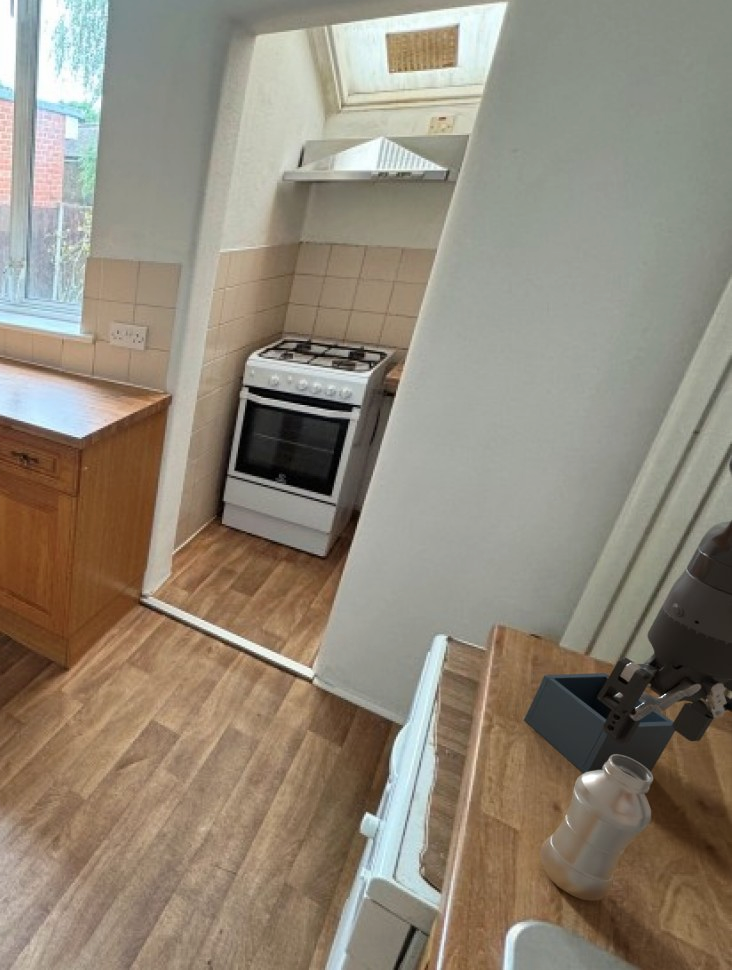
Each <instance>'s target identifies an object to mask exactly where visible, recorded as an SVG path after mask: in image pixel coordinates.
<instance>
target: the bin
mask: <svg viewBox="0 0 732 970" xmlns="http://www.w3.org/2000/svg"><path fill="white" fill-rule="evenodd" d="M609 676H610V674H609V675H608V673H606V672H595V673H593V672H591V673H568V674H567V673H564V674H563V673H562V674H561V673H560V674H544V675H543V678H542V680H541V682H540V684H539V686H538V688H537V690H536V692H535V695H534V697H533V699H532V702H531V703H530V706H529V708H528V710H527V713H526V715H525V717H524V718H523V721H524V722H525V723H526V724H528V726H529V727H531V728H532V729H533V730H534V732H536V733H537V734H539V735H540V736H541V737H542V738H543V739H544V740H545V741H546V742H547V743H548V744H550V745H551V746H552V747H553V748H554V749H555V750H557V752H559V754H561V755H562V756H563V757H564V758H565V759H566V760H568V761H569V762H570V763H571V764H572V765H573V766H574V767H576V769H578V770H579V771H580V772H581V773H582V774H584V773H585V772H589V771H595V770H603V769H602V768H603V765H604V764H605V762H607V761H608V759H609V757H610V756H611V755H614V754H619V755H623V756H626V757H629V758H631V759H633V760H635V761H637V762H639V763H640V764H642V765H643V766H645V767H646V768H647V769H648V770H649V771H650V772H651V773H652V771H653V769H654V768H655V766H656V764H657V763H658V761H659V759H660V757H661V756H662V754H663V752H664V751H665V749H666V748H667V745H668V744H669V742H670V741H671V739H672V737H673V736H674V734H675V732H676V731H675V730H674V729H673V727H672V724H673V722H674V720H672V719H670V718H669V717H668V716H666V715H665V714H663V713H661V711H659V710H654V711H652V712H651V713H649V714H648V715H646V716H645V717H643V718H642V719H640V720H642V721H641V722H640V724H639V726H638V728H637V730H636V731H635V733H634V735H633V737H632V738H631V740H630V742H629V743H625V744H620V743H618V742H617V741H615V740H614V739H613V738H612V737H610V736H609V735H608V734H607V733H606V732H605V731H604V729H603V725H604V723H605V722H606V719H607V718H608V716H609V714H610V712H611V710H612V709H611V708H609V707H608V706H607V705H606V704H604V703H603V702H602V701H600V700H599V699H598V698H597V697H598V695H599V693H600V691H601V690H602V688H603V686H604V684H605V683H606V681H607V679H608V678H609ZM618 693H619V692H618V691H616V693H615V695H617V694H618ZM615 695H614V696H615ZM644 701H645V700H643V699H642V698H641V697H640V699H639V700H638V702H637V703H636V705H635V707H638V706H639V705H641V704H642V703H644Z"/></svg>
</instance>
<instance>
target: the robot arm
mask: <svg viewBox="0 0 732 970" xmlns="http://www.w3.org/2000/svg"><path fill="white" fill-rule="evenodd" d="M728 471H729V474H730V476H731V477H732V455H731V456H730V458H729V461H728ZM647 639H648V641H649V644H650V645H651V647H652V649H653V653H652V655H651V656H650V657H649V658H648V659H647V660H645V662H643V663H635V662H634V661H632V660H631V659H630V658H628V657H622V658H620V659H619V660H617V662H616V664H615V666H614V667H613V669H612V671H611V673H610V674H609V678H608V679H607V681H606V683H605V684H604V686H603V688H602V690H601V691H600V693H599V695H598V697H597V698H598V699H599V700H600V701H602V702H603V703H604V704H606V705H607V706H608V707H609V708H611V709H612V710H611V712H610V714H609V716H608V718H607V719H606V722H605V723H604V725H603V729H604V731H605V732H606V733H607V734H608V735H609V736H610V737H612V738H613V739H614V740H615V741H617V742H618V743H620V744H625V743H629V742H630V740H631V738H632V737H633V735H634V733H635V731H636V730H637V728H638V726H639V724H640V722H641V721H642V720H640V719H642V718H643V717H645V716H646V715H648V714H649V713H651V712H652V711H654V710H657V711H659V712H663V711H666V710H667V709H668V708H670V707H672V706H673V705H674V704H676V703H679V702H684V701H686V702H684V704H683V705H682V707H681V709H680V710H679V712H678V714H677V715H676V717H675V719H674V720H673V724H672V727H673V729H674V730H675V732H677V733H678V734H679V735H681V736H682V737H683V738H684V739H686V740H687V741H689V742H699V741H701V740H702V738H703V736H704V735H705V734H706V731H707V730H708V728H709V727H710V726H711V724H712V722H713V720H714V719H719V718H721V717H723V716H724V715H725V713H726V712H727V711H728V712H730V713H732V697H729V696H727V695H726V694H725V693H724V691H725V690H726V689H727V690H728V691H730V692H732V519H731V520H730V521H723V522H719V523H717V524H714V525H713V526H712V527H710V528H709V529H708V530H706V532H705V533H704V535H703V536H702V538H701V540H700V542H699V543H698V546H697V547H696V549H695V551H694V552H693V555H692V556H691V559H690V560H689V562H688V564H687V566H686V568H684V571H683V572H682V573H681V574H680V575H679V576H678V578H677V579H676V580H675V582H674V583H673V585H672V586H671V587H670V589H669V592H668V594H667V595H666V597H665V599H664V601H663V603H662V605H661V606H660V609H659V610H658V612H657V615H656V616H655V618H654V620H653V622H652V624H651V626H650V627H649V630H648V632H647ZM647 688H649V689H650V690H651V691H652V692H654V693H655V694H657V695H658V696H660V697H655V696H652V695H651V694H650V693H648V692H647V691H646V689H647ZM616 691H618V692H619V693H618V694H617V695H615V693H616ZM614 695H615V696H614ZM640 698H641V699H642V700H644V703H642V704H641V705H639V706H638V707H635V705H636V703H637V702H638V700H639V699H640Z"/></svg>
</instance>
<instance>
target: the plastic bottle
mask: <svg viewBox="0 0 732 970" xmlns="http://www.w3.org/2000/svg"><path fill="white" fill-rule="evenodd" d="M602 769H603V770H595V771H589V772H585V773H584V774H583V773H582V774H581V775H579V776H577V779H576V781H575V783H574V787H573V790H572V791H573V792H572V795H571V801H570V804H569V806H568V808H567V811H566V814H565V816H564V818H563V821H561V823H560V824H559V826H558V827H557V828H556V830H555V831H554V833H552V834H551V835H550V836H548V837H547V839H546V840H545V841H544V842H542V844H541V846H540V852H539V861H540V864H541V866H542V868H543V871H544V873H545V874H546V875H547V877H548V878H549V879H550V880H551V881H552V882H553V883H554V885H556V886H557V887H558V888H560V889H561V890H562V891H564V892H565V893H567V894H569V895H571V896H572V897H575V898H577V899H579V900H583V901H594V902H595V901H596V902H597V901H600V900H602V899H603V898H604V897H606V896H607V895H608V894H610V892H611V890H612V887H613V883H614V878H615V877H614V874H615V872H616V868H617V867H618V864H619V862H620V858H621V856H622V855H623V854H624V852H625V850H626V849H627V848H628V846H629V845H630V844H631V843H632V841H634V839H635V838H636V837H638V836H639V835H640V834H641V833H642V832H643V831H644V830H646V828H647V827H648V826H649V825H650V823H651V821H652V809H651V806H650V803H649V801H648V798H647V796H646V794H647V793H648V792H649V790H650V789H651V788H650V787H651V784H652V783H653V782H654V776H653V773H652V771H651V772H650V771H649V770H648V769H647V768H646V767H645V766H643V765H642V764H640V763H639V762H637V761H635V760H633V759H631V758H629V757H626V756H623V755H619V754H614V755H611V756H610V757H609V759H608V761H607V762H605V764H604V765H603V768H602Z"/></svg>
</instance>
